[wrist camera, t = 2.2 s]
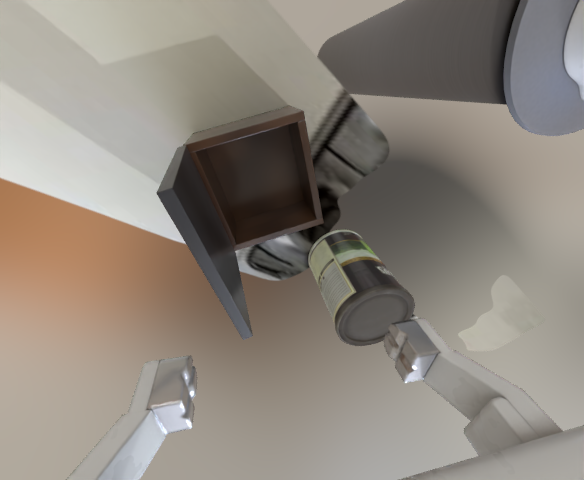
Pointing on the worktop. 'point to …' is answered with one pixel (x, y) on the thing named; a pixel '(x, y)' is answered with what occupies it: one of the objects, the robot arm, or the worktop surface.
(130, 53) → the worktop surface
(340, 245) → the coffee can
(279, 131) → the open brown box
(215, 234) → the dark grey box door
